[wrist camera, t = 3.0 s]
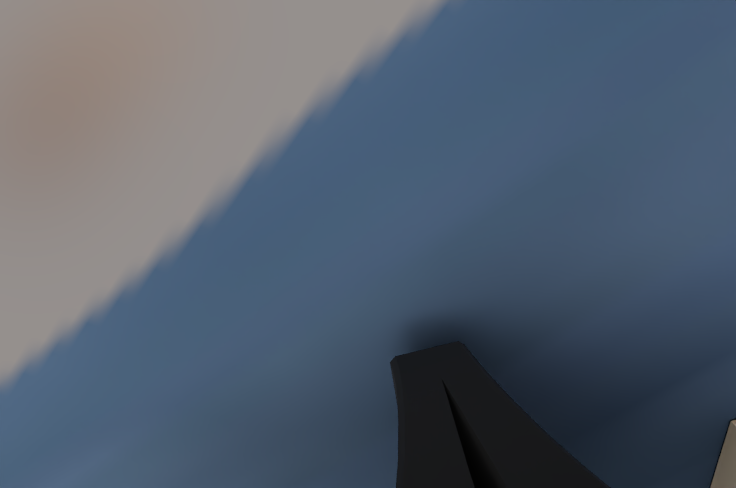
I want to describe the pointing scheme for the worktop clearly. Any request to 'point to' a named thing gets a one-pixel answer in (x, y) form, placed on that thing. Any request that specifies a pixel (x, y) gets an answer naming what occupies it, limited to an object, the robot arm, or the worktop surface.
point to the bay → (727, 461)
